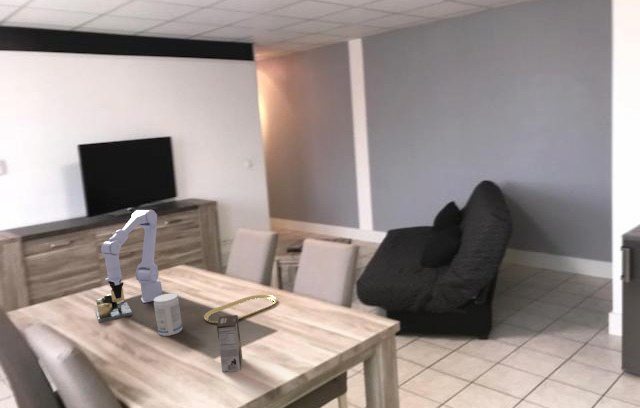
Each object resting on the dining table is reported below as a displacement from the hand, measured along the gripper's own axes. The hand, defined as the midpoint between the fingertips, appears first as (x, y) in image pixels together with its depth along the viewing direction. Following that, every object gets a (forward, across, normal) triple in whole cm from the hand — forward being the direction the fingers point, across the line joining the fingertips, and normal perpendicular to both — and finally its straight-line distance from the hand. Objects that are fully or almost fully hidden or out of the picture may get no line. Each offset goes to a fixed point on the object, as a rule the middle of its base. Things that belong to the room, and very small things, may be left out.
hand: (117, 296), depth 231 cm
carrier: (+8, -3, -2) cm, 9 cm away
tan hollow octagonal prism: (+2, 0, 0) cm, 2 cm away
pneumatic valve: (+6, -18, -8) cm, 21 cm away
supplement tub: (+9, +37, +14) cm, 41 cm away
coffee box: (+9, +82, +26) cm, 86 cm away
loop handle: (+9, +33, +46) cm, 58 cm away
